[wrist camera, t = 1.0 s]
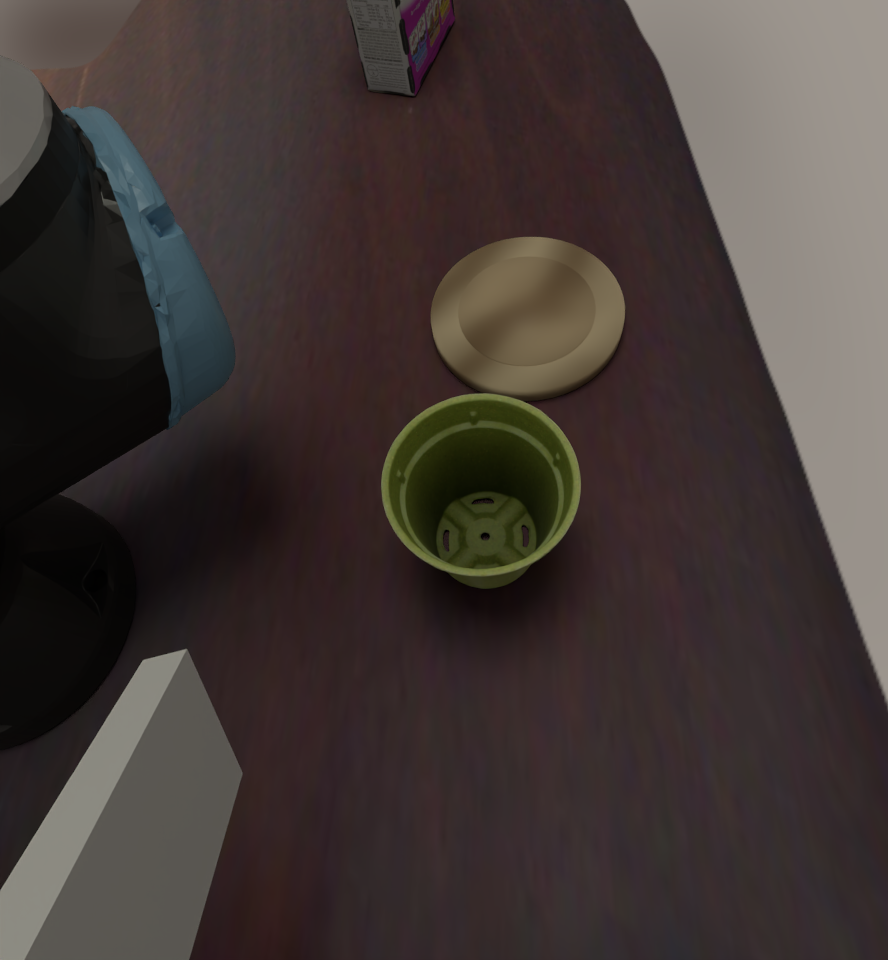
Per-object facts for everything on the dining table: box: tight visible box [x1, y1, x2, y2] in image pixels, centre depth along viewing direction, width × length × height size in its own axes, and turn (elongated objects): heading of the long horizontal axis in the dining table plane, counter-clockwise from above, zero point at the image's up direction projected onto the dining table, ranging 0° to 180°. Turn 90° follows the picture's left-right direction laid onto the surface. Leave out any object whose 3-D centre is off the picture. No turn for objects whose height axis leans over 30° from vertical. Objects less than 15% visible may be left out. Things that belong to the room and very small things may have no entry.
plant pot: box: [381, 393, 581, 589], centre depth 34 cm, size 9×9×9 cm
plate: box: [431, 237, 625, 401], centre depth 43 cm, size 13×13×1 cm
